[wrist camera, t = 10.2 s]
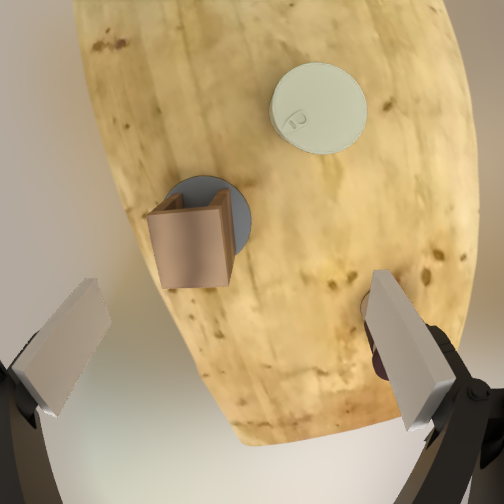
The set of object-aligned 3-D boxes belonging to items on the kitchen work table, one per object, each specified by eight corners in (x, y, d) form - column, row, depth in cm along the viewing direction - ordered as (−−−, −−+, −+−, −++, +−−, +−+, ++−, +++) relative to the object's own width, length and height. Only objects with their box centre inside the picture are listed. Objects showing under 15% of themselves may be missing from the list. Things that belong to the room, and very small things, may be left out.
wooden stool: (182, 253, 43) (162, 288, 34) (172, 193, 39) (146, 215, 30) (236, 250, 42) (228, 286, 33) (229, 188, 39) (218, 209, 30)
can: (254, 102, 34) (250, 92, 24) (313, 67, 32) (333, 44, 21) (295, 159, 37) (308, 174, 26) (351, 124, 35) (386, 126, 24)
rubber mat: (155, 181, 39) (153, 182, 39) (247, 171, 38) (247, 172, 38) (170, 264, 44) (169, 266, 44) (254, 260, 44) (254, 262, 43)
